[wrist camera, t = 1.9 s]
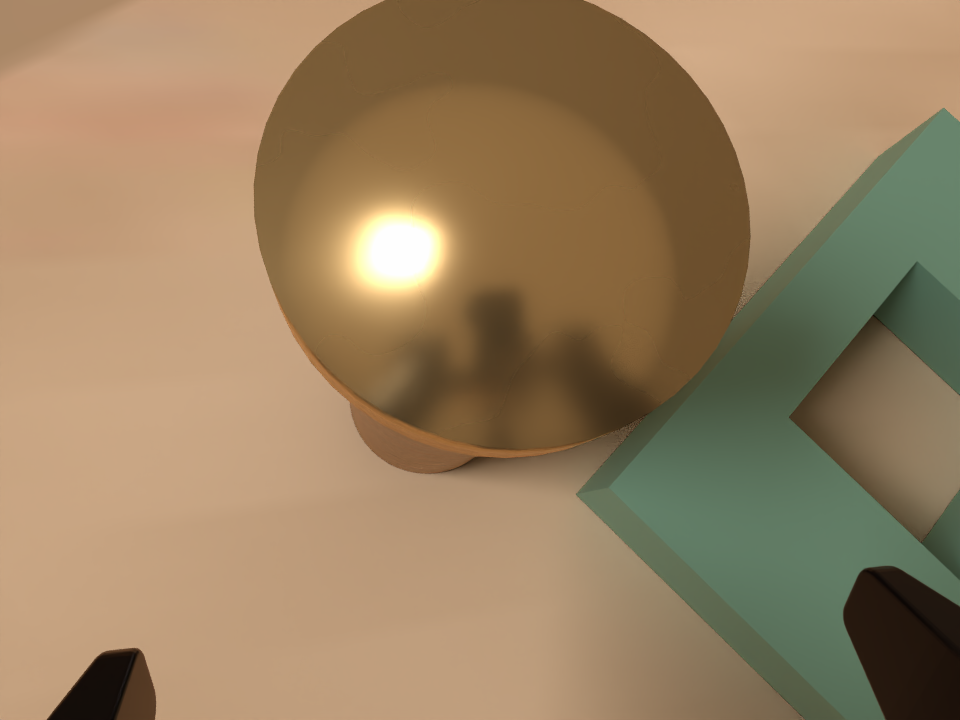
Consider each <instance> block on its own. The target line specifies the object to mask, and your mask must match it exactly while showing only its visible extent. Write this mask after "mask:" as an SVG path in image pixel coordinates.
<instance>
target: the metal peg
mask: <svg viewBox="0 0 960 720" xmlns="http://www.w3.org/2000/svg"><path fill="white" fill-rule="evenodd" d="M254 217H255V223H256V229H257V235H258V241H259V247H260V251H261V254H262V258H263V261H264V264H265V267H266V270H267V273H268V276H269V280H270V283H271V285H272V288H273V291H274V293H275V296H276V299H277V301H278V304H279V307H280V309H281V311H282V313H283V315H284V317H285V319H286V322H287V324H288V326H289V328H290V330H291V332H292V334H293V336H294V338H295V339H296V341H297V342H298V344H299V345H300V347H301V348H302V350H303V351H304V353H305V354H306V356H307V357H308V359H309V360H310V362H311V363H312V364H313V365H314V366H315V368H316V369H317V370H318V371H319V372H320V373H321V374H322V376H323V377H324V378H325V379H326V380H327V381H328V382H329V384H330V385H331V386H332V387H333V388H334V389H336V390H337V391H338V392H339V393H340V394H341V395H342V396H344V397H345V398H346V399H347V400H348V401H349V402H350V408H351V413H352V417H353V420H354V423H355V426H356V428H357V430H358V432H359V434H360V436H361V437H362V439H363V441H364V442H365V443H366V445H367V446H368V447H369V448H370V449H371V450H372V451H373V452H374V453H375V454H376V455H377V456H378V457H380V458H381V459H383V460H384V461H386V462H387V463H389V464H391V465H393V466H395V467H397V468H399V469H403V470H406V471H409V472H415V473H425V474H430V473H440V472H445V471H449V470H452V469H455V468H457V467H459V466H461V465H463V464H465V463H467V462H469V461H470V460H471V459H473V458H474V457H476V456H481V457H498V458H513V457H527V456H538V455H543V454H548V453H552V452H557V451H562V450H567V449H569V448H572V447H575V446H578V445H581V444H583V443H586V442H589V441H592V440H594V439H597V438H599V437H602V436H604V435H606V434H608V433H611V432H613V431H615V430H618V429H620V428H622V427H624V426H626V425H628V424H630V423H632V422H634V421H635V420H637V419H639V418H641V417H643V416H645V415H647V414H649V413H650V412H652V411H653V410H655V409H656V408H657V407H659V406H660V405H661V404H663V403H664V402H666V401H667V400H668V399H670V398H671V397H672V396H674V395H675V394H676V393H677V392H678V391H679V390H680V389H681V388H682V387H683V386H684V385H686V384H687V383H688V382H689V381H690V380H691V379H692V378H693V377H694V376H695V375H696V374H697V373H698V372H699V370H700V369H701V368H702V366H703V365H704V364H705V362H706V361H707V360H708V359H709V357H710V356H711V355H712V353H713V352H714V351H715V349H716V348H717V346H718V344H719V343H720V341H721V339H722V337H723V335H724V334H725V332H726V330H727V328H728V326H729V325H730V323H731V320H732V318H733V315H734V313H735V310H736V307H737V305H738V302H739V300H740V297H741V294H742V290H743V285H744V281H745V277H746V272H747V268H748V259H749V248H750V217H749V205H748V199H747V193H746V188H745V182H744V178H743V174H742V171H741V168H740V165H739V162H738V158H737V155H736V152H735V150H734V147H733V145H732V143H731V141H730V138H729V136H728V134H727V132H726V130H725V127H724V125H723V123H722V122H721V120H720V118H719V117H718V115H717V113H716V112H715V110H714V108H713V107H712V105H711V103H710V102H709V100H708V98H707V97H706V96H705V95H704V93H703V92H702V91H701V89H700V88H699V87H698V85H697V84H696V83H695V82H694V80H693V79H692V78H691V76H690V75H689V74H688V73H687V72H686V71H685V70H684V69H683V68H682V67H681V66H680V65H679V64H678V63H677V62H676V61H675V60H674V59H673V58H672V57H671V56H670V54H668V53H667V52H666V51H665V50H664V49H662V48H661V47H660V46H659V45H658V44H656V43H655V42H654V41H653V40H652V39H650V38H649V37H648V36H647V35H645V34H644V33H642V32H641V31H639V30H638V29H636V28H635V27H633V26H632V25H630V24H629V23H627V22H626V21H624V20H623V19H621V18H619V17H617V16H615V15H613V14H612V13H610V12H608V11H606V10H604V9H602V8H600V7H598V6H596V5H594V4H591V3H589V2H586V1H584V0H385V1H383V2H381V3H379V4H376V5H374V6H372V7H370V8H368V9H366V10H364V11H362V12H360V13H359V14H357V15H356V16H354V17H353V18H351V19H350V20H348V21H347V22H345V23H344V24H342V25H341V26H339V27H338V28H336V29H335V30H334V31H333V32H332V33H331V34H330V35H328V36H327V37H326V38H325V39H324V40H323V41H322V42H320V43H319V44H318V45H317V46H316V47H315V48H314V49H313V50H312V51H311V52H310V53H309V55H308V56H307V57H306V58H305V59H304V60H303V62H302V63H301V64H300V65H299V66H298V67H297V69H296V70H295V71H294V73H293V74H292V76H291V77H290V79H289V80H288V82H287V84H286V85H285V87H284V88H283V90H282V91H281V93H280V95H279V96H278V98H277V101H276V103H275V105H274V107H273V110H272V112H271V114H270V116H269V119H268V121H267V123H266V126H265V130H264V133H263V137H262V140H261V144H260V147H259V151H258V156H257V164H256V172H255V179H254Z"/></svg>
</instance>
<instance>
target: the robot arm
mask: <svg viewBox="0 0 960 720" xmlns="http://www.w3.org/2000/svg"><path fill="white" fill-rule="evenodd" d="M843 621H844V625H845V628H846V630H847V633H848V635H849V637H850V640H851V642H852V644H853V647H854V649H855V651H856V653H857V656H858V658H859V660H860V663H861V665H862V667H863V670H864V672H865V674H866V676H867V679H868V681H869V683H870V686H871V688H872V690H873V692H874V695H875V697H876V699H877V702H878V704H879V706H880V709H881V711H882V713H883V715H884V718H885V720H960V606H959V605H957V604H956V603H954V602H952V601H951V600H949V599H948V598H946V597H944V596H943V595H941V594H940V593H938V592H936V591H935V590H933V589H932V588H930V587H928V586H927V585H925V584H924V583H922V582H920V581H919V580H917V579H916V578H914V577H913V576H911V575H909V574H908V573H906V572H905V571H903V570H901V569H899V568H897V567H895V566H877V567H868V568H865V569H863V570H862V571H860V573H859V574H858V576H857V578H856V581H855V583H854V585H853V587H852V589H851V592H850V594H849V596H848V598H847V601H846V603H845V605H844V608H843ZM155 714H156V695H155V689H154V686H153V683H152V680H151V676H150V673H149V670H148V667H147V664H146V660H145V657H144V655H143V653H142V651H141V650H140V649H138V648H128V649H119V650H110V651H106V652H103V653H101V654H100V655H99V656H97V657H96V659H95V660H94V661H93V662H92V663H91V665H90V666H89V667H88V668H87V670H86V671H85V672H84V673H83V675H82V676H81V677H80V678H79V680H78V681H77V682H76V683H75V685H74V686H73V687H72V688H71V690H70V691H69V692H68V693H67V695H66V696H65V697H64V698H63V700H62V701H61V702H60V703H59V705H58V706H57V707H56V708H55V710H54V711H53V712H52V714H51V715H50V716H49V717H48V719H47V720H155Z"/></svg>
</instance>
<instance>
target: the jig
mask: <svg viewBox="0 0 960 720" xmlns="http://www.w3.org/2000/svg"><path fill="white" fill-rule="evenodd" d="M872 315H874V316H875V317H877V318H878V319H879V320H880V321H881V322H882V323H883V324H884V325H885V326H886V327H887V328H888V329H889V330H891V331H892V332H893V333H894V334H895V335H896V336H897V337H898V338H899V339H900V340H901V341H902V342H903V343H904V344H906V345H907V346H908V347H909V348H910V349H911V350H912V351H913V352H914V353H915V354H916V355H917V356H918V357H919V358H921V359H922V360H923V361H924V362H925V363H926V364H927V365H928V366H929V367H930V368H931V369H932V370H933V371H934V372H936V373H937V374H938V375H939V376H940V377H941V378H942V379H943V380H944V381H945V382H946V383H947V384H948V385H950V386H951V387H952V388H953V389H954V390H955V391H956V392H957V393H958V394H959V395H960V122H959V121H958V120H957V119H956V118H955V117H953V116H952V115H951V114H950V113H949V112H948V111H947V110H946V109H945V108H943V109H941V110H940V111H939V112H937V113H936V114H935V115H933V116H932V117H931V118H929V119H928V120H927V121H925V122H924V123H923V124H921V125H920V126H919V127H917V128H916V129H915V130H913V131H912V132H911V133H909V134H908V135H906V136H905V137H904V138H902V139H901V140H900V141H898V142H897V143H896V144H894V145H893V146H892V147H890V148H889V149H888V150H886V151H885V152H884V153H882V154H881V155H880V156H878V158H877V159H876V160H875V161H874V162H873V163H872V164H871V165H870V167H869V168H868V169H867V170H866V171H865V172H864V173H863V174H862V175H861V177H860V178H859V179H858V180H857V181H856V182H855V183H854V184H853V185H852V187H851V188H850V189H849V190H848V191H847V192H846V193H845V194H844V196H843V197H842V198H841V199H840V200H839V201H838V202H837V203H836V204H835V206H834V207H833V208H832V209H831V210H830V211H829V212H828V213H827V215H826V216H825V217H824V218H823V219H822V220H821V221H820V222H819V223H818V225H817V226H816V227H815V228H814V229H813V230H812V231H811V232H810V234H809V235H808V236H807V237H806V238H805V239H804V240H803V241H802V242H801V244H800V245H799V246H798V247H797V248H796V249H795V250H794V251H793V253H792V254H791V255H790V256H789V257H788V258H787V259H786V260H785V261H784V263H783V264H782V265H781V266H780V267H779V268H778V269H777V270H776V272H775V273H774V274H773V275H772V276H771V277H770V278H769V279H768V280H767V282H766V283H765V284H764V285H763V286H762V287H761V288H760V289H759V291H758V292H757V293H756V294H755V295H754V296H753V297H752V298H751V299H750V301H749V302H748V303H747V304H746V305H745V306H744V307H743V308H742V310H741V311H740V312H739V313H738V314H737V315H736V316H735V317H734V318H733V320H732V321H731V323H730V325H729V326H728V328H727V330H726V332H725V334H724V335H723V337H722V339H721V341H720V343H719V344H718V346H717V348H716V349H715V351H714V352H713V353H712V355H711V356H710V357H709V359H708V360H707V361H706V362H705V364H704V365H703V366H702V368H701V369H700V370H699V372H698V373H697V374H696V375H695V376H694V377H693V378H692V379H691V380H690V381H689V382H688V383H687V384H686V385H684V386H683V387H682V388H681V389H680V390H679V391H678V392H677V393H676V394H675V395H674V396H672V397H671V398H670V399H668V400H667V401H666V402H664V403H663V404H661V405H660V406H659V407H657V408H656V409H655V410H653V411H652V412H650V413H649V414H648V415H647V416H646V417H645V418H644V419H643V420H642V421H641V422H640V423H639V425H638V426H637V427H636V428H635V429H634V430H633V431H632V432H631V434H630V435H629V436H628V437H627V438H626V439H625V440H624V441H623V442H622V444H621V445H620V446H619V447H618V448H617V449H616V450H615V451H614V453H613V454H612V455H611V456H610V457H609V458H608V459H607V460H606V461H605V463H604V464H603V465H602V466H601V467H600V468H599V469H598V470H597V472H596V473H595V474H594V475H593V476H592V477H591V478H590V479H589V480H588V482H587V483H586V484H585V485H584V486H583V487H582V488H581V489H580V491H579V492H578V493H577V494H576V495H577V496H578V497H579V498H580V499H581V500H582V501H583V502H584V503H585V504H586V505H587V506H588V507H589V508H590V509H591V510H592V511H593V512H594V513H595V514H596V515H597V516H598V517H600V518H601V519H602V520H603V521H604V522H605V523H606V524H607V525H608V526H609V527H610V528H611V529H612V530H613V531H614V532H615V533H616V534H617V535H618V536H619V537H620V538H621V539H622V540H623V541H624V542H625V543H626V544H627V545H628V546H629V547H630V548H631V549H632V550H633V551H634V552H635V553H636V554H637V555H638V556H639V557H640V558H641V559H642V560H643V561H644V562H645V563H646V564H647V565H648V566H649V567H650V568H651V569H652V570H654V571H655V572H656V573H657V574H658V575H659V576H660V577H661V578H662V579H663V580H664V581H665V582H666V583H667V584H668V585H669V586H670V587H671V588H672V589H673V590H674V591H675V592H676V593H677V594H678V595H679V596H680V597H681V598H682V599H683V600H684V601H685V602H686V603H687V604H688V605H689V606H690V607H691V608H692V609H693V610H694V611H695V612H696V613H697V614H698V615H699V616H700V617H701V618H702V619H703V620H704V621H705V622H706V623H708V624H709V625H710V626H711V627H712V628H713V629H714V630H715V631H716V632H717V633H718V634H719V635H720V636H721V637H722V638H723V639H724V640H725V641H726V642H727V643H728V644H729V645H730V646H731V647H732V648H733V649H734V650H735V651H736V652H737V653H738V654H739V655H740V656H741V657H742V658H743V659H744V660H745V661H746V662H747V663H748V664H749V665H750V666H751V667H752V668H753V669H754V670H755V671H756V672H757V673H758V674H759V675H760V676H762V677H763V678H764V679H765V680H766V681H767V682H768V683H769V684H770V685H771V686H772V687H773V688H774V689H775V690H776V691H777V692H778V693H779V694H780V695H781V696H782V697H783V698H784V699H785V700H786V701H787V702H788V703H789V704H790V705H791V706H792V707H793V708H794V709H795V710H796V711H797V712H798V713H799V714H800V715H801V716H802V717H803V718H804V719H805V720H885V718H884V715H883V713H882V711H881V709H880V706H879V704H878V702H877V699H876V697H875V695H874V692H873V690H872V688H871V686H870V683H869V681H868V679H867V676H866V674H865V672H864V670H863V667H862V665H861V663H860V660H859V658H858V656H857V653H856V651H855V649H854V647H853V644H852V642H851V640H850V637H849V635H848V633H847V630H846V628H845V625H844V621H843V608H844V605H845V603H846V601H847V598H848V596H849V594H850V592H851V589H852V587H853V585H854V583H855V581H856V578H857V576H858V574H859V573H860V571H862V570H863V569H865V568H868V567H877V566H895V567H897V568H899V569H901V570H903V571H905V572H906V573H908V574H909V575H911V576H913V577H914V578H916V579H917V580H919V581H920V582H922V583H924V584H925V585H927V586H928V587H930V588H932V589H933V590H935V591H936V592H938V593H940V594H941V595H943V596H944V597H946V598H948V599H949V600H951V601H952V602H954V603H956V604H957V605H959V606H960V490H959V491H958V493H957V494H956V496H955V497H954V498H953V500H952V501H951V503H950V504H949V506H948V507H947V508H946V510H945V511H944V513H943V514H942V515H941V517H940V518H939V520H938V521H937V522H936V524H935V525H934V527H933V528H932V530H931V531H930V532H929V534H928V535H927V537H926V538H925V539H924V541H923V542H922V544H921V543H920V542H919V541H918V540H917V539H916V538H915V537H914V536H913V535H912V534H911V533H910V532H909V531H907V530H906V529H905V528H904V527H903V526H902V525H901V524H900V523H899V522H898V521H897V520H896V519H895V518H894V517H893V516H892V515H891V514H890V513H889V512H888V511H886V510H885V509H884V508H883V507H882V506H881V505H880V504H879V503H878V502H877V501H876V500H875V499H874V498H873V497H872V496H871V495H870V494H869V493H868V492H866V491H865V490H864V489H863V488H862V487H861V486H860V485H859V484H858V483H857V482H856V481H855V480H854V479H853V478H852V477H851V476H850V475H849V474H848V473H847V472H845V471H844V470H843V469H842V468H841V467H840V466H839V465H838V464H837V463H836V462H835V461H834V460H833V459H832V458H831V457H830V456H829V455H828V454H827V453H826V452H824V451H823V450H822V449H821V448H820V447H819V446H818V445H817V444H816V443H815V442H814V441H813V440H812V439H811V438H810V437H809V436H808V435H807V434H806V433H804V432H803V431H802V430H801V429H800V428H799V427H798V426H797V425H796V424H795V423H794V422H793V421H792V420H791V419H790V418H789V416H790V415H791V414H792V413H793V411H794V410H795V409H796V408H797V406H798V405H799V404H800V403H801V402H802V400H803V399H804V398H805V397H806V395H807V394H808V393H809V392H810V391H811V389H812V388H813V387H814V386H815V385H816V383H817V382H818V381H819V380H820V378H821V377H822V376H823V375H824V374H825V372H826V371H827V370H828V369H829V367H830V366H831V365H832V364H833V363H834V361H835V360H836V359H837V358H838V357H839V355H840V354H841V353H842V352H843V350H844V349H845V348H846V347H847V346H848V344H849V343H850V342H851V341H852V339H853V338H854V337H855V336H856V335H857V333H858V332H859V331H860V330H861V329H862V327H863V326H864V325H865V324H866V322H867V321H868V320H869V319H870V318H871V316H872Z"/></svg>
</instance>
